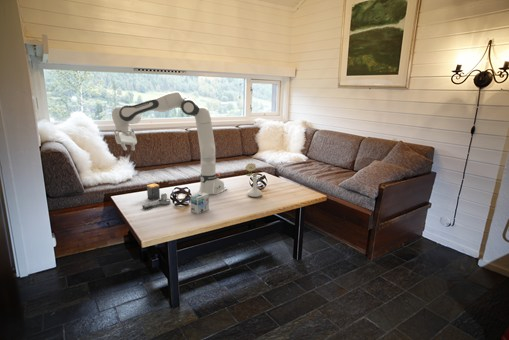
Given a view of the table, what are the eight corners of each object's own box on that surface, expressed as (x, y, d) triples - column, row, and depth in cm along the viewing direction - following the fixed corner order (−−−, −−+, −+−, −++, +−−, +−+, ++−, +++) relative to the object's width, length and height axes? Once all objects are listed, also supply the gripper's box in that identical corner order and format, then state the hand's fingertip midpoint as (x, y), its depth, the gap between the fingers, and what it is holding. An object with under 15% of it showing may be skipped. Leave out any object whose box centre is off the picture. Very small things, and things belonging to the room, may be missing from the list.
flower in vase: (262, 193, 232) (263, 161, 226) (261, 198, 221) (262, 165, 215) (245, 192, 233) (246, 160, 227) (243, 197, 222) (244, 164, 216)
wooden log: (155, 196, 219) (154, 183, 217) (159, 198, 216) (159, 185, 213) (147, 198, 215) (146, 185, 212) (152, 200, 211) (151, 186, 209)
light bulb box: (198, 214, 191) (197, 198, 188) (190, 211, 195) (189, 195, 192) (209, 209, 200) (209, 193, 197) (201, 206, 203) (201, 191, 200)
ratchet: (166, 200, 213) (165, 190, 211) (172, 203, 208) (172, 193, 206) (140, 207, 199) (140, 197, 197) (147, 210, 194) (146, 200, 192)
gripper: (118, 128, 198) (124, 148, 198) (135, 130, 218) (141, 149, 218) (110, 131, 199) (116, 151, 199) (128, 133, 219) (133, 151, 219)
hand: (129, 150), depth 209 cm, fingers open, 8 cm apart
